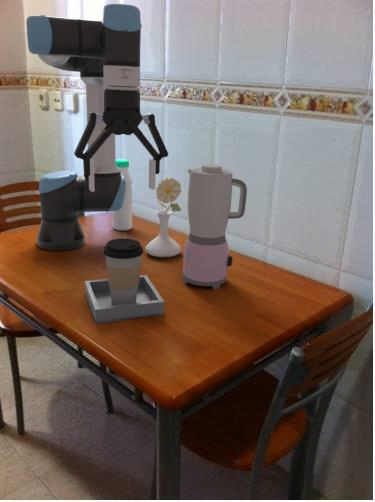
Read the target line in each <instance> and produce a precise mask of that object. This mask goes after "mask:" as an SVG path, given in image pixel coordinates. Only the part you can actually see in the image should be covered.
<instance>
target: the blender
mask: <svg viewBox="0 0 375 502" xmlns="http://www.w3.org/2000/svg"><path fill="white" fill-rule="evenodd" d="M222 167H223V166H222V165H220V164H214V163H204V164H202V165H201V167H195V168H194V167H193V168H191V169H187V172H188V175H189V180H188V187H187V189H188V190H187V193H188V194H187V214H188V225H189V235H188V237H187V239H186V241H185V243H184V248H183V249H184V250H183V270H182V282H183V284H184V285H188V284H192V285H195V286H199V287H200V286H201V287H211V288H212V290H219V289H220V287H221V285H222V284H224V283H226V281H227V279H228V278H227V276H228V275H227V274H228V267H232V264H233V256H232V255H230V254H229V252H230V247H229V243H228V241H227V238H226V232H227V231H226V230H227V227H228V224H229V220H230V219H236V220H237V219H241V218H242V217H244V214H245V211H246V205H247V194H248V187H247V185H246V183H245V182H244V181H243V180H242V179H237V178H233V172H232V171H231V170H229V169H226V168H222ZM233 186H234V187H238V188H239V189H240V190H239V201H238V210H237V211H232V212H231V207H232V199H233V198H232V197H233V196H232V195H233Z"/></svg>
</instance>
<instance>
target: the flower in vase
mask: <svg viewBox="0 0 375 502" xmlns="http://www.w3.org/2000/svg"><path fill="white" fill-rule="evenodd" d="M155 192H156V199H157V203H158V204H159V205H160V206H162V207H163V208H165V209H166V210H165V209H160V210H159V209H158V210H156V215H157V216H158V219H159V226H160V229H159V234H158V236H156V237H155V238H154V239H152V240H150V242H148V244H147V245H145V248H144V249H145V252H146V253H147V254H149V255H151V256H152V257H153V256H154V257H157V258H171V257H175V256H177V255H179V254H180V253H181V251H182V248H181V245H180V244H178V242H176V241H175V240H174V239H173V238H171V237H170V236H169V233H168V224H169V219H170V217H171V215H173V212H181V211H182V209H181V207H180V205H179V204H178V203H177V202H175V201H176V200H177V198H179V197H180V194H181V193H182V186H181V183H180V181H178V180H176V179H175V178H173V177H170V178H168V177H166V178H165V179H162V180H161V181H160V182H159V183H158V185H157V186H156V187H155ZM174 202H175V203H174ZM169 203H170V204H169ZM165 204H169V206H168V207H167V206H166V205H165ZM170 208H171V210H172V211H171V210H169V209H170Z"/></svg>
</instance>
